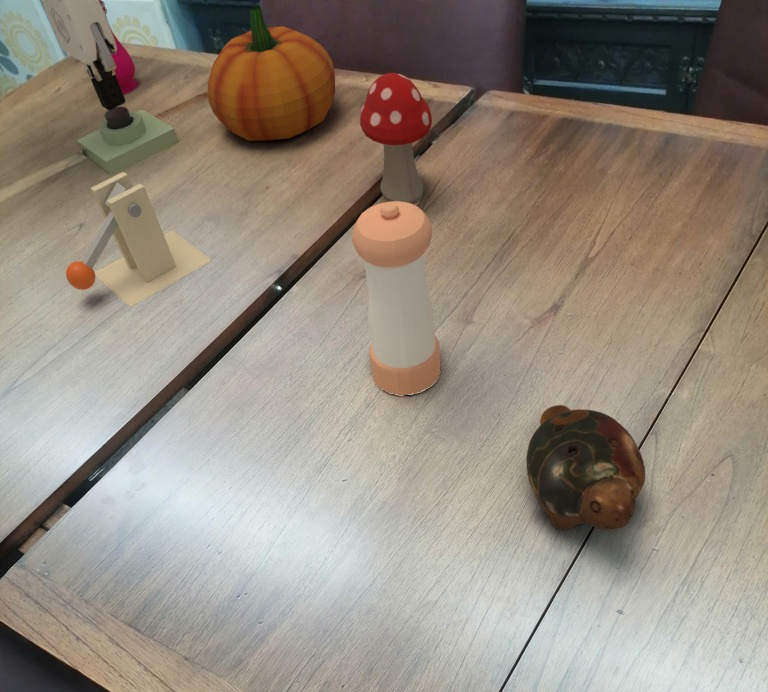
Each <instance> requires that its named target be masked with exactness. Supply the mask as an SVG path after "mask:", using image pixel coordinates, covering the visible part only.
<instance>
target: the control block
mask: <svg viewBox="0 0 768 692" xmlns="http://www.w3.org/2000/svg"><path fill="white" fill-rule="evenodd" d="M129 114H130V116H131V119H132V123H131V124H130V125H129V126H127V127H125V128H121V129H110V128H109V125H108V123H107V121H106V118H105V117H104V119H103V120H102V121H101V122H100V123H99V126H98V129H97V130H95V131H93V132H91V133H89V134H87V135H84V136H82V137H81V138H79V139H76V142H77V145H79V146H80V147H81V148H82V149H81V150H80V151H81V153H82V154H83V155H84V156H85V157H86V158H88V159H89V160H91V161H92V162H93V163H95V164H96V165H97V166H99V167H100V168H102V170H104V171H106V172H107V173H108V174H110V175H111V176H113V175H115V174H118V173H119V172H121V171H123V170H126V169H128V168H129V167H131V166H133V165H135V164H137V163H139V162H141V161H143V160H145V159H147V158H149V157H151V156H154V155H155V154H157V153H159V152H161V151H164V150H166V149H167V148H169V147H171V146H173V145H176V144H177V143H179V139H178V136H177V134H176V130H175V128H174V127H173V126H171V125H169V124H168V123H166V122H165V121H162V120H161V119H159V118H158V117H156V116H154V115H153V114H151V113H149V112H148V111H146V110H145V109H143V108H142V109H140V110H138V111H129Z"/></svg>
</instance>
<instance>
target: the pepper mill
mask: <svg viewBox="0 0 768 692" xmlns="http://www.w3.org/2000/svg"><path fill="white" fill-rule="evenodd" d="M99 2H100V4H101V6H102V9H103V11H104V13H105V16H106V18H107V21H108V22H109V20H108V16H107V13H108V9H107V8H106V6H105V5H106V4H105V2H104V1H103V0H99ZM109 26H110V28H111V27H112V26H111V25H110V24H109ZM111 31H112V34H113V37H114V39H115V43H116V46H117V51H116V54H111V56H112V58H113V60H114V62H115V64H116V67H117V68H116V69H114V71H115V75H116V78H117V80H118V83H119V85H120V88H121V90H122V93H123V95H126V94H128V93H130V92H132V91H133V90H135V89H136V88H137V87H138V84H139V82H138V80H137V79H135V78H134V77H135V73H136V66H135V62H134V61H133V58H132V57H131V55H130V54H129V52H128V51H127V49H126V48H125V47H124V45H123V44H122V43H121V42H120V40H119V39H118V38H117V36H116V35H115V33H114V32H113V29H112V28H111ZM92 78H94V77H92Z"/></svg>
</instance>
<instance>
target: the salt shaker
mask: <svg viewBox="0 0 768 692" xmlns="http://www.w3.org/2000/svg"><path fill="white" fill-rule="evenodd" d="M352 230H353V231H352V238H351V242H352V245H353V247H354V249H355V251H356V253H357V254H358V256H359V257H360V258H361V259H362V260H363V262H364V267H365V274H366V282H367V289H368V307H367V308H368V309H367V310H368V311H367V328H368V329H367V330H368V335H369V339H370V345H369V354H368V355H369V361H370V367H371V373H372V378H373V381H374V384H375V383H376V384H377V385H378V386H379V387H380V388H381V389H383V390H384V391H387V392H388V393H393V394H398V395H408V394H412V393H414V394H415V393H417V392H421V391H422V390H424V389H426V388H428V387H430V386H431V385H432V384H433V383H434V382H435V381H436V380H437V379H438V380H439V378H440V376H439V374H440V375H441V371H440V366H441V365H442V364H441V352H440V351H441V349H440V346H441V345H440V342H439V340H438V337H437V335H436V321H435V320H436V314H435V311H434V307H433V302H432V299H431V294H430V291H429V287H428V281H427V269H426V255H425V253H426V251H427V250H428V248H429V246H430V244H431V241H432V238H433V227H432V224H431V221H430V219H429V218H428V216H427V214H426V213H425V212H424V211H423V210H422V209H421V207H419V206H418V205H417V206H416V205H413V204H410V203H408V202H400V201H392V202H386V201H385V202H381V203H377V204H375V205H373V206H370V207H368V208H367V209H366V210H365V211H363V212H362V213H361V214H360V216H358V219H357V220H356V222H355V223H354V226H353V229H352ZM441 367H442V366H441ZM438 377H439V378H438ZM376 384H375V385H376ZM377 385H376V386H377ZM378 386H377V387H378ZM379 387H378V388H379ZM380 388H379V389H380ZM381 389H380V390H381ZM384 391H383V392H384ZM388 393H387V394H388Z"/></svg>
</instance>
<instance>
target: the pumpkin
mask: <svg viewBox="0 0 768 692" xmlns="http://www.w3.org/2000/svg"><path fill="white" fill-rule="evenodd" d="M249 15H250V17H249V18H250V30H249V31H246V32H245V33H242V34H240V35H237V36H235V37H233V38H231V39H230V40H229V41H228V42H227V43H226V44H225V45H224V47H223V48H222V50H221V51H220V52H219V54H218V55H217V57H216V58H215V60H214V61H213V64H212V67H211V69H210V72H209V73H210V74H209V76H208V80H207V90H206V91H207V92H206V94H207V99H208V100H207V101H208V104H209V106H210V108H211V111H212V113H213V115H214V116H215V117H216V118H217V120H218V121H219V122H220V123H221V124H223V125H224V127H226V128H227V129H228V130H229V131H230V132H231V133H233V134H234V135H236V136H238V137H240V138H242V139H244V140H247V141H250V142H251V141H274V140H284V139H290V138H293V137H295V136H298V135H301V134H302V133H304V132H306V131H309V130H310V129H312V128H314V127H316V126H317V125H319V124H321V123H322V122H324V120H325V118H326V116H327V115H328V112H329V110H330V108H331V107H332V104H333V102H334V99H335V95H336V70H335V67H334V63H333V60H332V58H331V56H330V54H329V53H328V51H327V50H326V49H325V48H324V47H323V46H322V45H321V43H319V42H317V41H316V40H314V39H313V38H311V36H308V35H306V34H304V33H302V32H300V31H297V30H295V29H292V28H289V27H286V26H285V25H284V26H283V25H280V26H272V27H268V26H267V24H266V23H265V19H264V15H263V11H262V7H261V6H260V5H254V6H252V7H250V8H249Z"/></svg>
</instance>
